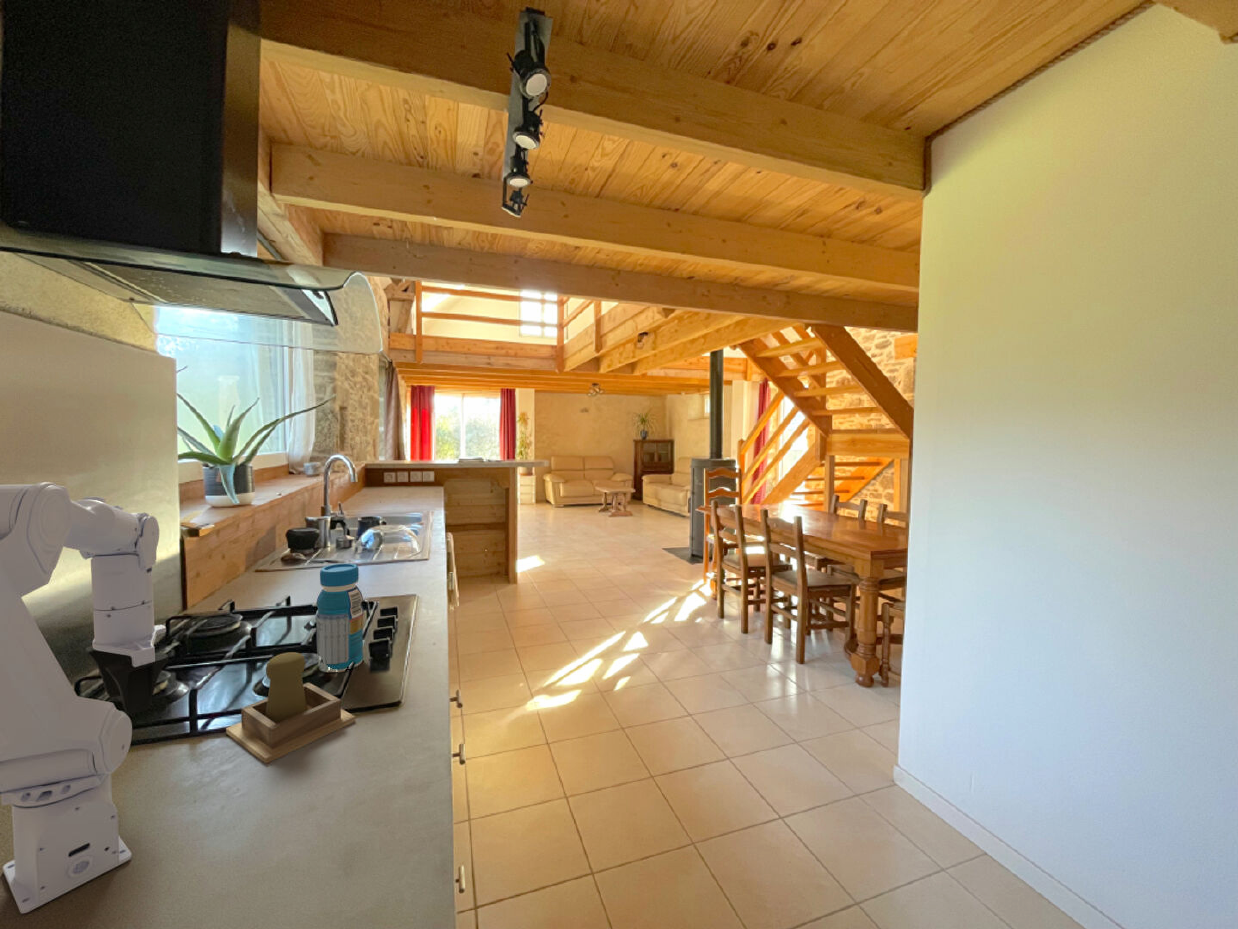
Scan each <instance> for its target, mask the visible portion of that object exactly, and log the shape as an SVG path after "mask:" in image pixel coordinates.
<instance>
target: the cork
mask: <svg viewBox="0 0 1238 929" xmlns="http://www.w3.org/2000/svg"><path fill="white" fill-rule="evenodd" d="M305 667H306V660H305V656H303V654H302V653H300V652H294V651H293V652H292V651H291V652H284V653H280V654H277V655H275V656H273V657H272V658H270V659H269V660H268V661H267V664H266V667H265V673H266V678H268V679H269V689H268V694H267V698H268V701H267V708H266V715H265V717H267V718H268V719H270V720H271V721H273V722H274V723H276V724H277V723H280V722H282V721H284V720H287V719H289V718H291V717H294V716H296V715H298V714H301V713H303V712H306V711H308V709H307V704H306V698H305V692H304V687H303V684H304V682H303V677H302V674H303V672H304V671H305V669H306V668H305Z"/></svg>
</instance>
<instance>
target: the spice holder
mask: <svg viewBox="0 0 1238 929" xmlns="http://www.w3.org/2000/svg"><path fill="white" fill-rule="evenodd" d="M303 687H304V692H305V698H306V704H307V709H308V711H306V712H303V713H301V714H298V715H296V716H294V717H291V718H289V719H287V720H284V721H282V722H280V723H277V724H276V723H274V722H273V721H271V720H270V719H268V718H267V717H265V715H266V708H267V701H268V697H267V698H264V699H261V700H259V701H256V702H254V703H251V704H249V705H245V706H243V707H241V708H240V713H241V714H240V716H241V719H240V722H238V723H235V724H233V725H230V726H228V727H226V728H225V734H227V735H228V736H229V737H230V738H232V739H233V740H234V741H236V742H237V743H238V744H240V745H241V746H242V747H243V748H245V749H246V750H247V751H249V752H250V753H251V754H253V756H255V757H256V758H258V759H259V760H260V761H261V762H263V763H264V764H268V763H271V762H272V761H275V760H277V759H279V758H281V757H283V756H285V755H288V754H289V753H292V752H294V751H295V750H298V749H300V748H301V747H304V746H306V745H309V744H310V743H312V742H314V741H317V740H319V739H320V738H323V737H325V736H327V735H329V734H331V733H333V732H336V731H338V730H340V729H342V728H344V727H346V726H348V725H350V724H352V723H355V722H356V716H355V715H353V714H351V713H350V712H348V711H346V710H344V709H343V708H342V707H341V706H342V705H341V704H342V703H341V702H342V701H341V699H340V698H338V697H337V696H334V695H332V694H331V693H329V692H327V691H326V690H323V689H322V688H320V687H318V686H317V685H314V684H312V683H311V682H306V683H303Z"/></svg>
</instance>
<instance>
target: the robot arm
mask: <svg viewBox="0 0 1238 929" xmlns="http://www.w3.org/2000/svg"><path fill="white" fill-rule="evenodd" d="M69 493H70V492H69V491H68V488H67V486H64V485H58V484H56V483H53V482H48V481H46V482H41V481H40V482H37V483H35V484H33V483H32V484H31V483H30V484H29V483H27V484H23V483H22V484H21V483H20V484H0V801H1V802H0V803H1V806H6V805H11V817H12V818H11V820H12V821H11V822H12V837H13V840H12V841H13V842H12V843H13V856H14V857H13V858H14V859H13V860H10V861H8V862H7V863H5V864H4V865H2V872H3V874H4V877H5V879H6V881H7V884H8V887H9V888H10V891H11V894H12V896H13V898H14V900H15V903H16V905H17V907H18V910H19V913H20V914H26V913H29V912H31V911H33V910H35V909H36V908H39V907H41V906H43V905H44V904H47V903H48V902H51V901H53V900H55V899H56V898H58V897H60V896H62V895H64V894H66V893H68V892H70V891H72V890H73V889H75V888H78V887H79V886H81V885H83V884H85V883H88V882H89V881H92V880H93V879H95V878H97V877H99V876H101V875H102V874H104V873H107V872H108V871H112V870H113V869H114V868H117V867H119V866H120V865H122V864H125V863H126V862H127V861H130V860H131V858H132V852H131V850H130V849H129V848H128V846H127V845H126V843H125V842H124V840H123V839H122V837H120V835H119V816H118V814H119V813H118V812H119V811H118V809H117V807H116V805H115V804H114V802H113V795H112V793H113V792H112V774H113V773H114V772H115V771H116V770H117V769H118V768H119V767H120V766H121V764H123V763H124V761H125V759H126V757H127V756H128V753H129V750H130V747H131V742H132V735H133V725H132V720H131V719H130V716H132V715H135V714H137V713H140V712H144V711H146V710H149V709H150V707H151V704H152V700H153V697H154V696H153V695H154V692H155V687H156V685H157V684H156V683H157V681H158V679H159V676H160V674H161V673H162V671H163V669H164V668H165V666H166V664H167V663H168V661H169V656H168V654H166V653H165V652H162V653H158V654H156V652H155V651H156V650H155V648H156V647H155V646H154V644H155V642H156V639H157V636H159V635H161V634H166V632H167V627H166V626H165V625H163V624H156V625H155V609H154V606H155V605H154V583H153V566H154V565H155V564H156V563H157V562H156V561H157V548H158V545H159V541H160V526H159V522H158V519H157V518H156V517H155V516H153V515H151V516H150V515H149V513H148V512H128V511H126V510H124V509H123V507H122V506H119V505H110V504H107V503H106V499H105V498H104V497H102V496H84V497H83V498H82V499H78V500H75V501H74V500H72V499H71V497H70V494H69ZM64 548H67V549H72V550H76V551H79V555H80V556H81V557H82V559H83V560H85V561H86V560H88V559H90V572H91V573H90V574H91V593H92V594H91V596H92V611H93V612H92V614H93V634H94V637H93V640H92V642H91V643H92V645H90V646H87V647H86V648H85V649H84V651H85V652H86V653H87V654H88V655H89V656H90V658H91V659H92V661H93V662H94V664H95V665H96V667H97V669H98V672H99V675H100V677H101V681H102V682H103V686H104V689H105V691H106V693H107V695H108V697H113V696H117V695H119V694H120V698H121V702H122V706H123V710H124V711H123V710H118V709H117V707H116V706H115V704H114V702H110V701H106V700H100V699H94V698H88V697H84V696H83V697H82V696H79V695H77V693H76V690H74V688H73V686H72V684H71V683H70V681H69V679H68V677H67V675H66V674H65V672H64V670H63V669H62V666H61V665H60V663H59V661H58V660H57V658H56V656H55V654H54V653H53V651H52V650H51V647H50V646H49V643H47V641H46V639H45V637H44V634H43V633H42V632H41V630H40V629H39V627H38V625H37V623H36V621H35V620H34V618H33V616H32V614H31V613H30V610H29V609H28V608H27V607H28V606H27V605H26V604H25V602H24V600H23V599H22V598H24V596H26V595H29V594H30V593H32V592H34V591H37V590H39V589H40V588H42V587H44V586H46V585H48V584H49V583H50V580H51V578H52V575H53V573H54V571H55V569H56V568H57V565H58V564H59V563H58V562H59V560H60V558H61V553H62V551H63V549H64Z"/></svg>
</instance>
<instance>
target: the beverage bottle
mask: <svg viewBox="0 0 1238 929" xmlns="http://www.w3.org/2000/svg"><path fill="white" fill-rule="evenodd" d="M359 571H360V570H359V566H358V565H357V564H355V563H349V562H348V563H336V564H335V563H334V564H331V565H326V566H323V567H322V568H320V572H319V580H320V581H319V584H320V586H321V587H322V589H321V591H320V592H319V594H318V596H317V599H316V602H315V606H316V607H317V611H316V613H315V622H316V652H317V653H316V656H317V655H319V656H321V658H322V660H323V662H324V663H325V664H326V665H327V666H328V667H330V668H332V669H337V670H338V671H339V672H338V673H343V672H346V671H345V670H346V669H347V667H348V666H349V665H350V664H351V663H352V662H355V666H356V667H355V668H357V667H358V666H359V665H361V664H362V662H363V660H364V651H363V646H364V644H363V642H364V639H363V637H364V636H363V629H364V628H363V626H364V625H363V624H364V623H363V622H364V620H363V619H364V618H363V616H364V611H365V610H364V607H363V605H362V602H363V601H364V600H363V598H364V596H363V594H362V592H361V590H360V588H359V587H358V586H357V583H358V582H359V578H360V577H359V576H360V575H359Z"/></svg>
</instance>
